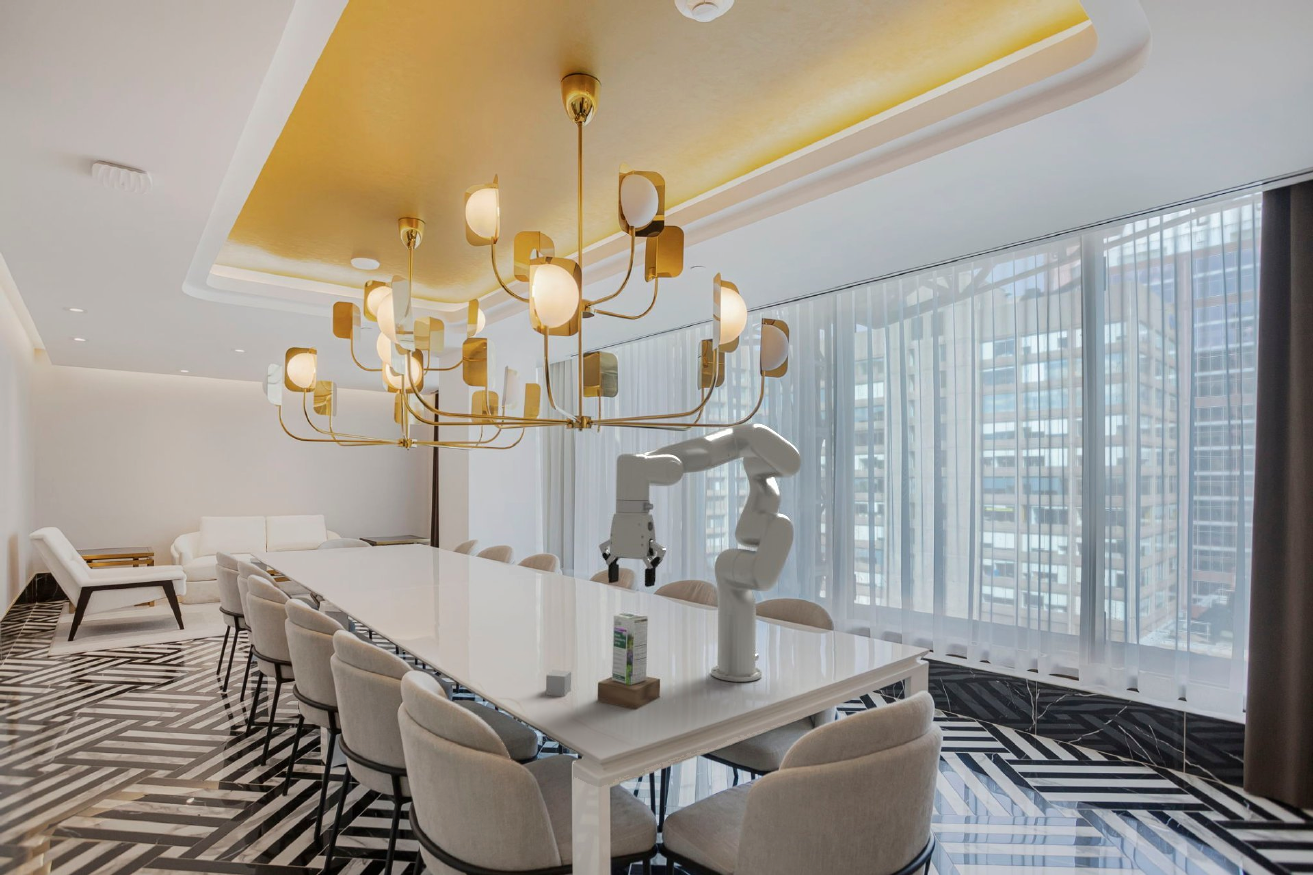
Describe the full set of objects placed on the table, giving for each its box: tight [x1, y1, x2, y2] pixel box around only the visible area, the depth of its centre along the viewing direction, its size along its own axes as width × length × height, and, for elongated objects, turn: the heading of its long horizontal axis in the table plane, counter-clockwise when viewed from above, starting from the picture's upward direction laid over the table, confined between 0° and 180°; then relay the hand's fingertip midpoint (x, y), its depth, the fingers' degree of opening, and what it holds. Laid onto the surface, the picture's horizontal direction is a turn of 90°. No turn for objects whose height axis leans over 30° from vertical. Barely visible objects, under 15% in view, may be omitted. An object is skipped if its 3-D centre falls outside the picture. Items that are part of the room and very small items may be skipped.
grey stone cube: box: [545, 669, 572, 697], centre depth 158 cm, size 4×4×4 cm
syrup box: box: [611, 612, 649, 685], centre depth 155 cm, size 6×6×14 cm
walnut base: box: [597, 676, 661, 710], centre depth 154 cm, size 10×10×4 cm
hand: (631, 584), depth 156 cm, fingers open, 9 cm apart
